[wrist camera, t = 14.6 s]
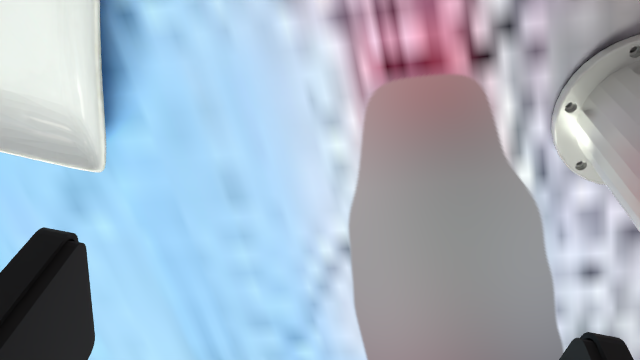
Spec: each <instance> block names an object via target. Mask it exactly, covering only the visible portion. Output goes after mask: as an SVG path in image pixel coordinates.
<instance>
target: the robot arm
mask: <svg viewBox="0 0 640 360" xmlns="http://www.w3.org/2000/svg"><path fill="white" fill-rule="evenodd" d="M633 47H634V48H633ZM632 48H633V49H632ZM631 49H632V50H631ZM568 103H569V104H568ZM567 104H568V105H567ZM551 133H552V138H553V143H554V146H555V148H556V150H557V152H558V154H559V156H560V157H561V159H562V160H563V162H564V163H565V165H566V166H567V167H568V168H569V169H570V170H571V171H572V172H574V173H575V174H577V175H578V176H580V177H582V178H584V179H585V180H588V181H591V182H594V183H597V184H601V185H606V186H607V187H608V188H609V190H610V191H611V193H612V194H613V195H614V197H615V198H616V200H617V201H618V202H619V204H620V205H621V207H622V208H623V209H624V211H625V212H626V214H627V215H628V216H629V218H630V219H631V221H632V222H633V223H634V225H635V226H636V227H637V229H638V230H639V232H640V35H636V36H632V37H630V38H627V39H624V40H622V41H619V42H617V43H615V44H613V45H611V46H609V47H607V48H606V49H604V50H602V51H600V52H599V53H597V54H596V55H595V56H593V57H592V58H591V59H590V60H588V61H587V62H586V63H584V64H583V65H582V66H581V67H580V68H579V69H578V71H577V72H576V73H575V74H574V75H573V76H572V77H571V78H570V80H569V81H568V82H567V84H566V85H565V87H564V88H563V90H562V91H561V93H560V96H559V98H558V100H557V102H556V104H555V108H554V112H553V115H552V124H551ZM94 341H95V332H94V322H93V312H92V302H91V292H90V282H89V272H88V262H87V252H86V246H85V244H84V243H80V242H78V238H77V236H76V234H74V233H70V232H65V231H59V230H54V229H49V228H41V229H39V230H38V231H37V232H36V233H35V234H34V235H33V236H32V237H31V238H30V240H29V241H28V242H27V243H26V244H25V245H24V246H23V247H22V249H21V250H20V251H19V252H18V253H17V254H16V255H15V257H14V258H13V259H12V260H11V261H10V262H9V263H8V265H7V266H6V267H5V268H4V269H3V270H2V271H1V272H0V360H88V358H89V356H90V354H91V352H92V349H93V346H94ZM559 360H634V359H633V358H632V356H631V354H630V352H629V350H628V348H627V346H626V344H625V343H624V341H623V340H621V339H620V338H616V337H611V336H606V335H601V334H596V333H590V332H587V333H584V334H583V335H582V336H581V337H580V338H575V339H573V341H572V342H571V343H570V345H569V346H568V348H567V349H566V350H565V352H564V353H563V355H562V357H561V358H560V359H559Z"/></svg>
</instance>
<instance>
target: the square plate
mask: <svg viewBox="0 0 640 360" xmlns="http://www.w3.org/2000/svg"><path fill="white" fill-rule="evenodd" d="M0 152H3V153H8V154H12V155H16V156H21V157H25V158H30V159H34V160H38V161H43V162H47V163H52V164H56V165H61V166H66V167H70V168H74V169H79V170H84V171H91V172H102V171H103V170H104V168H105V163H106V131H105V116H104V100H103V85H102V68H101V39H100V0H0Z"/></svg>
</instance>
